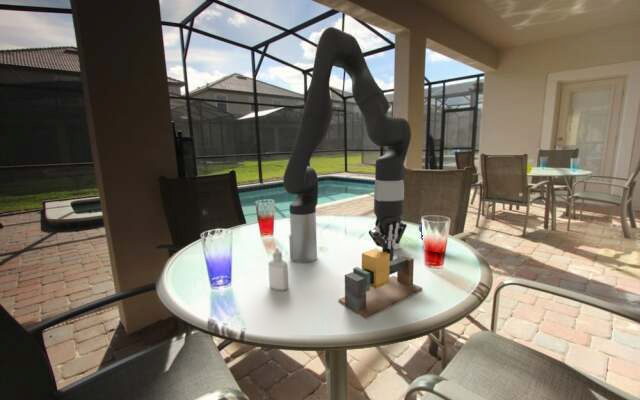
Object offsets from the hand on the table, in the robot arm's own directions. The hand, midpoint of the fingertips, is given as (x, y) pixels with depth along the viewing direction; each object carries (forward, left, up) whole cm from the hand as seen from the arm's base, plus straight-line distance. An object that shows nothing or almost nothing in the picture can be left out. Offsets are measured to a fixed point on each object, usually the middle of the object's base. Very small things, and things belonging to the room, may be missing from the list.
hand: (387, 260), depth 79 cm
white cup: (+4, +37, -10) cm, 39 cm away
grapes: (+18, +37, -10) cm, 43 cm away
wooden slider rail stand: (-2, -2, -9) cm, 10 cm away
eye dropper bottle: (-31, 0, -10) cm, 32 cm away
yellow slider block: (-3, -4, -5) cm, 7 cm away
